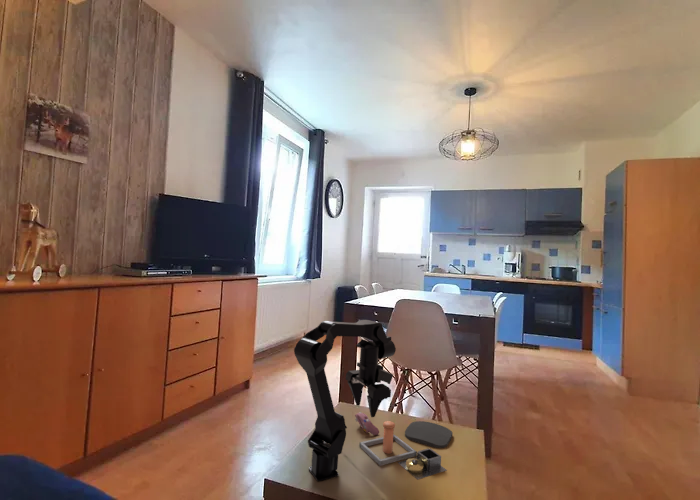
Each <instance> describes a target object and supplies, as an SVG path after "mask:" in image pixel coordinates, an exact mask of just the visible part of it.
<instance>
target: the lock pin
mask: <svg viewBox="0 0 700 500" xmlns="http://www.w3.org/2000/svg"><path fill="white" fill-rule="evenodd" d="M382 425H383V437H384V438H383V443H382V452H383V453H384V454H386V455H387V454H389V455H390V454H393V447H394V440H393V435H394V432H395V431H394V430H395V428H396V424H395V422H393V421H390V420H386V421H383V424H382Z"/></svg>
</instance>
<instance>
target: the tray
mask: <svg viewBox="0 0 700 500" xmlns="http://www.w3.org/2000/svg"><path fill="white" fill-rule="evenodd" d="M383 438H384V436H382V437H378V438H377V437H376V438H374V439H369V440H364V441H359V445H358V446H359V448H360V449H362V451H364V453H366V454H367V455H368V456H369V457H370V459H372V460H373V461H374V462H375V463H377V465H378V466H384V465H388V464H391V463H394V462H400V461H404V460H408V459H411V458H415V457H417V452H418V451H416V450H415V449H414V448H412V447H411V446H410V445H409V444H407V443H406V442H405V441H403V440H402V439H401V438H399V436H397V435H396V434H393V442H395V443H397V444H398V445H399V446H401V447H402V448H403V449H405V450H406V451H407V452H404V453H401V454H396V455H392V456H389V457H385V458H380V457H379V456H378V455H377V454H375V452H373V451H372V449H370V448H369V446H373V445H374V446H375V445H377V444H378V445H379V444H381V443H382V444H383Z"/></svg>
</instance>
